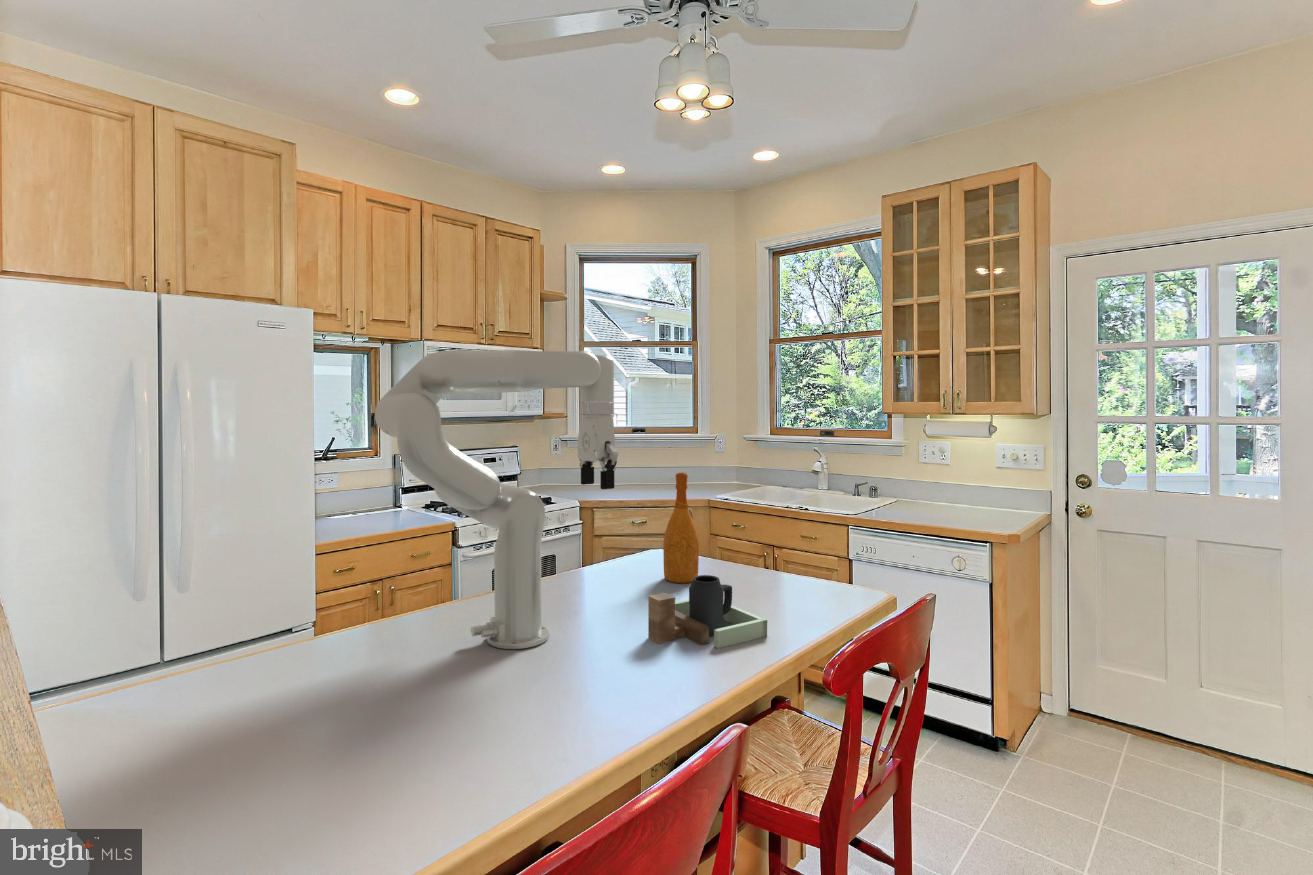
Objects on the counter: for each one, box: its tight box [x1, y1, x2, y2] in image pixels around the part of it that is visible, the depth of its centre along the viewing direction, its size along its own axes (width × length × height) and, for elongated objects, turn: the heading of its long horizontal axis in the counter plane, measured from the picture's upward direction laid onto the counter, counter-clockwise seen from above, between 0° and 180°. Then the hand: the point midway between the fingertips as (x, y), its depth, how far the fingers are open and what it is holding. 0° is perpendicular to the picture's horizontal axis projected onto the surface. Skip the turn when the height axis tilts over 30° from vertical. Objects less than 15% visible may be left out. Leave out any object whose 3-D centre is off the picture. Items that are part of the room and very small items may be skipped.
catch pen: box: [675, 599, 768, 649], centre depth 143 cm, size 13×20×4 cm, turn 32°
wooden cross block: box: [647, 592, 710, 646], centre depth 138 cm, size 9×14×9 cm, turn 32°
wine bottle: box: [662, 471, 700, 584], centre depth 182 cm, size 10×10×30 cm
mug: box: [688, 574, 733, 638], centre depth 143 cm, size 12×9×11 cm
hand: (597, 486), depth 148 cm, fingers open, 9 cm apart
